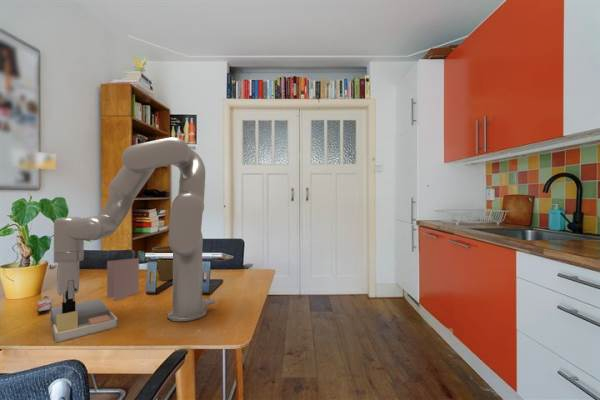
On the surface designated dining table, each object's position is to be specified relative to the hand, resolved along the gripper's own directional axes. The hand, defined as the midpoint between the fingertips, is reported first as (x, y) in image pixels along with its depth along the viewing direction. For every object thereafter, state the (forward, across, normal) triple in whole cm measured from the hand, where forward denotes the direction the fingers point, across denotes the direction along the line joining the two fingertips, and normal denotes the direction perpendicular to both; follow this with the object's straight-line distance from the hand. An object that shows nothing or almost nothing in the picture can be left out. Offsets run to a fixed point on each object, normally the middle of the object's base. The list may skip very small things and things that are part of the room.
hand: (68, 313), depth 94 cm
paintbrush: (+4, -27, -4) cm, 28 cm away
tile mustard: (+1, +4, -1) cm, 4 cm away
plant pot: (+4, -37, +44) cm, 58 cm away
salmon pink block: (+1, +9, +7) cm, 11 cm away
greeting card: (+4, -20, +20) cm, 28 cm away
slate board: (+4, -5, +4) cm, 7 cm away
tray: (+4, +8, +4) cm, 9 cm away
